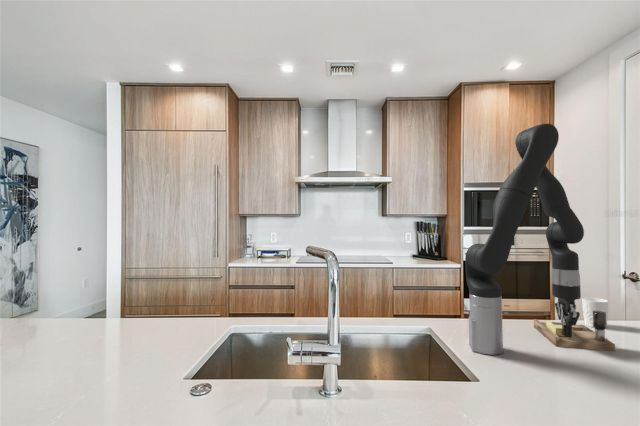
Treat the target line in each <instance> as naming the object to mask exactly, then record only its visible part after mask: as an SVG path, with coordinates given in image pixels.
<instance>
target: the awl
mask: <svg viewBox="0 0 640 426" xmlns="http://www.w3.org/2000/svg"><path fill="white" fill-rule="evenodd" d="M593 327H594V332H595V340H597V341H601V342H604V341H605V339H606V334H605V333H606V332H605V331H606V329H607V328H606V312H603V311H593ZM593 327H592V328H593Z"/></svg>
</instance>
